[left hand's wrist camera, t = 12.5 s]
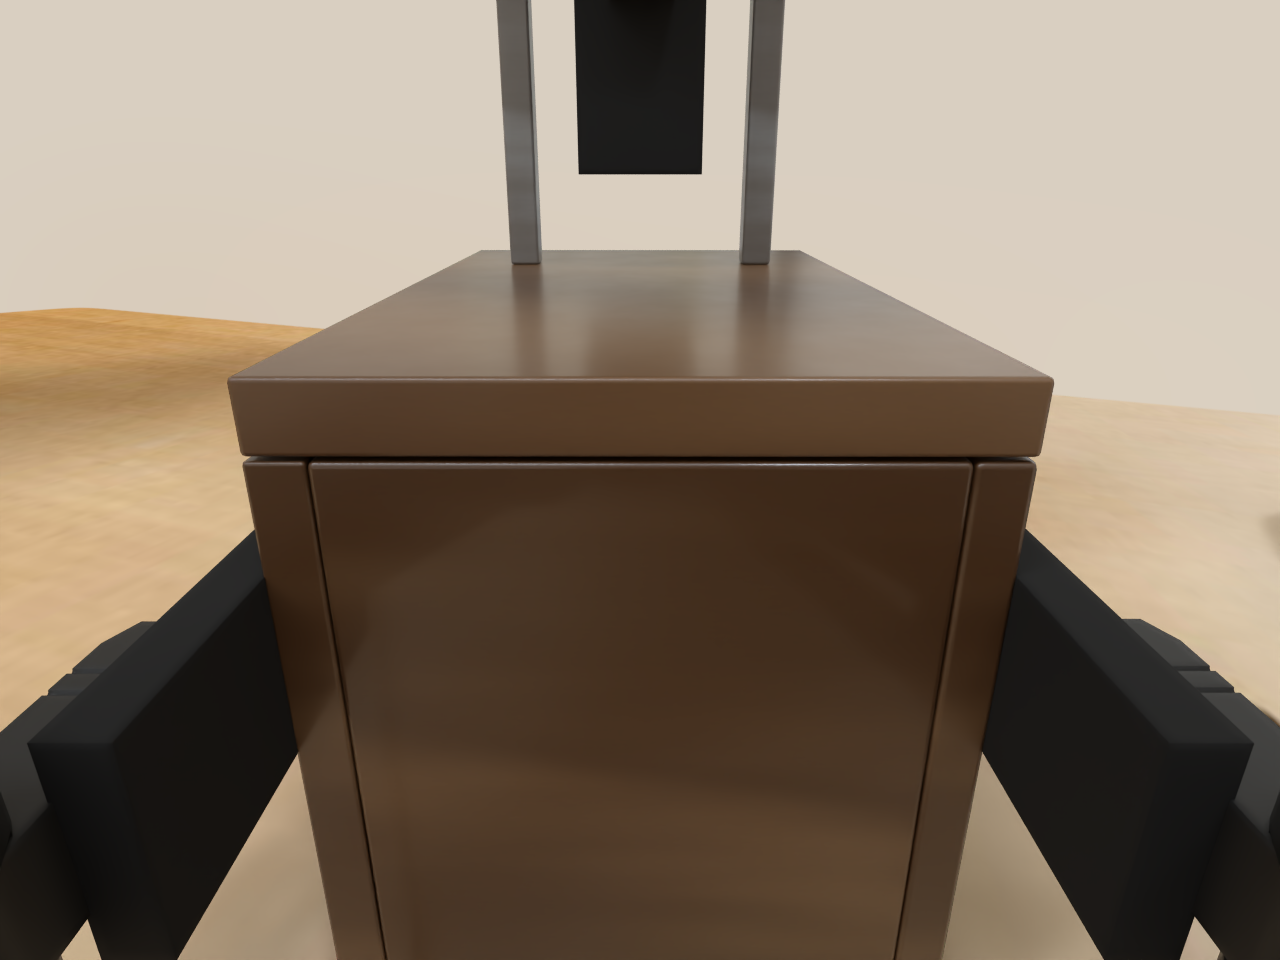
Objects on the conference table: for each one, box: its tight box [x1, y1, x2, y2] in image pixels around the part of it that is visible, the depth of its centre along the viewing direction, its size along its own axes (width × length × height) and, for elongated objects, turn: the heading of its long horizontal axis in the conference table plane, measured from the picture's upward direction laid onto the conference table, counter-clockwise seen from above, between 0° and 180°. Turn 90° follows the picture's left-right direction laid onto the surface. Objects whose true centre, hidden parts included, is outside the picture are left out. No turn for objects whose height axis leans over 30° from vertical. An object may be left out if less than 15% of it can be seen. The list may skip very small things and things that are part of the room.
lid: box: [227, 0, 1054, 457], centre depth 15 cm, size 15×9×9 cm, turn 0°
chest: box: [243, 456, 1037, 960], centre depth 18 cm, size 14×9×10 cm, turn 0°
